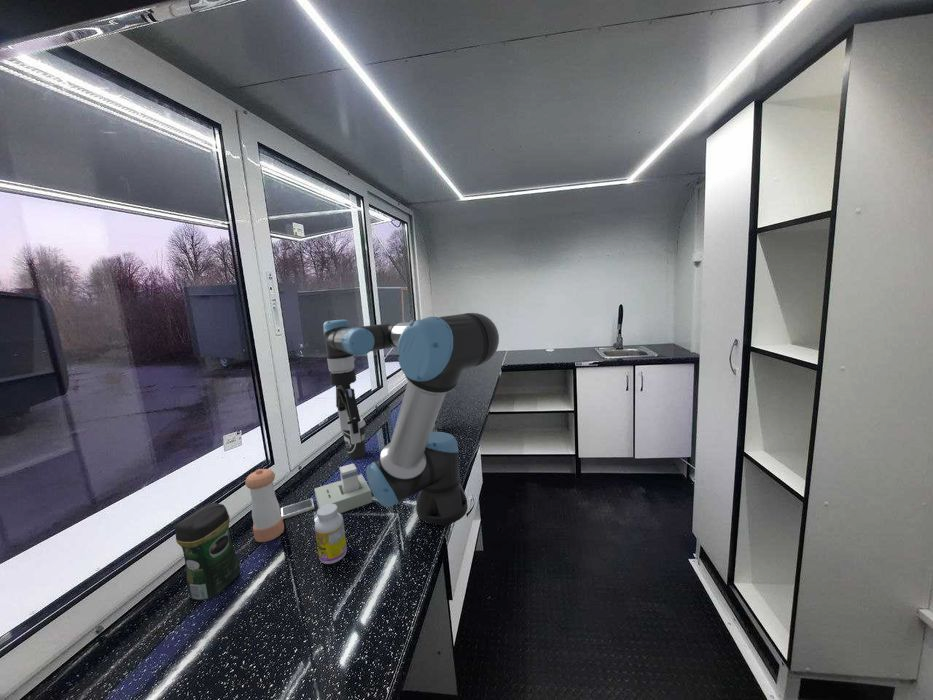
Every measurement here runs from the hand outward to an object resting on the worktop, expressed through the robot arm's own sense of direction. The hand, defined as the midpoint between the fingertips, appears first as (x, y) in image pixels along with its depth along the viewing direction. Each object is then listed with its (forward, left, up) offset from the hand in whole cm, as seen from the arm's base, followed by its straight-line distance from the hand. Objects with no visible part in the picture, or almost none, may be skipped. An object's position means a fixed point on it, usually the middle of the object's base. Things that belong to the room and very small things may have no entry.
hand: (350, 435), depth 111 cm
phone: (+2, +18, -20) cm, 27 cm away
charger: (-1, +2, -20) cm, 20 cm away
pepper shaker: (-5, +25, -21) cm, 33 cm away
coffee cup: (+29, -6, -21) cm, 36 cm away
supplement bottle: (-24, +12, -21) cm, 34 cm away
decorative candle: (+32, -39, -21) cm, 55 cm away
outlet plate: (-1, +5, -20) cm, 21 cm away
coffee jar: (-18, +37, -21) cm, 46 cm away
